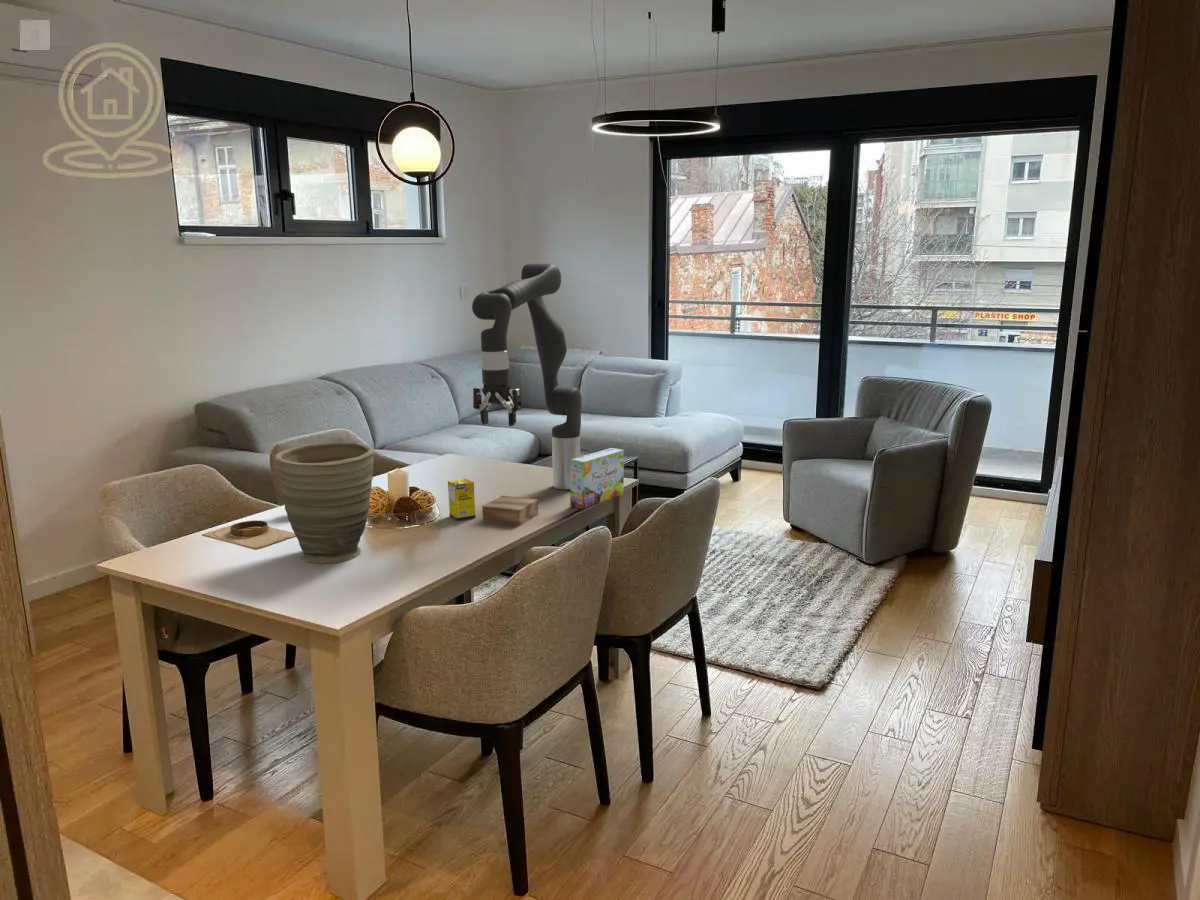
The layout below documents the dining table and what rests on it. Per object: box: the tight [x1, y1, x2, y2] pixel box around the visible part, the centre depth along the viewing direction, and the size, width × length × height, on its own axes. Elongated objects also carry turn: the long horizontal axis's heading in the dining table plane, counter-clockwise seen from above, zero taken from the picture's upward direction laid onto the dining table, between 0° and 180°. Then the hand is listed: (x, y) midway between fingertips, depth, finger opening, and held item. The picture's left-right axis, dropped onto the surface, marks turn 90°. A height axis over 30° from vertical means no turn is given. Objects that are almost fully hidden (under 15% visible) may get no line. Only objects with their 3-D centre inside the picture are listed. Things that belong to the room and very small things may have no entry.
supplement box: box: [447, 477, 476, 521], centre depth 258 cm, size 6×6×11 cm
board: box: [201, 520, 297, 551], centre depth 244 cm, size 25×15×3 cm, turn 58°
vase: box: [274, 441, 375, 564], centre depth 224 cm, size 24×24×30 cm
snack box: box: [569, 447, 625, 510], centre depth 273 cm, size 21×6×15 cm, turn 143°
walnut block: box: [482, 495, 539, 527], centre depth 257 cm, size 12×12×5 cm
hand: (498, 424), depth 245 cm, fingers open, 8 cm apart
